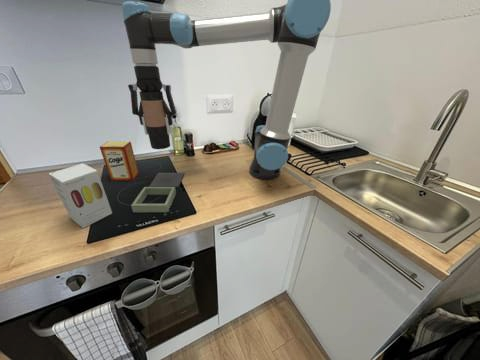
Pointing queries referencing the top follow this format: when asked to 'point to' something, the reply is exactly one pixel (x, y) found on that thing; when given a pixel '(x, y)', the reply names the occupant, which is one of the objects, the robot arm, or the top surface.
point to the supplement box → (81, 194)
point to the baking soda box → (119, 160)
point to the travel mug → (155, 119)
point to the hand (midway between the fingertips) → (158, 133)
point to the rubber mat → (167, 180)
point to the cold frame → (140, 207)
